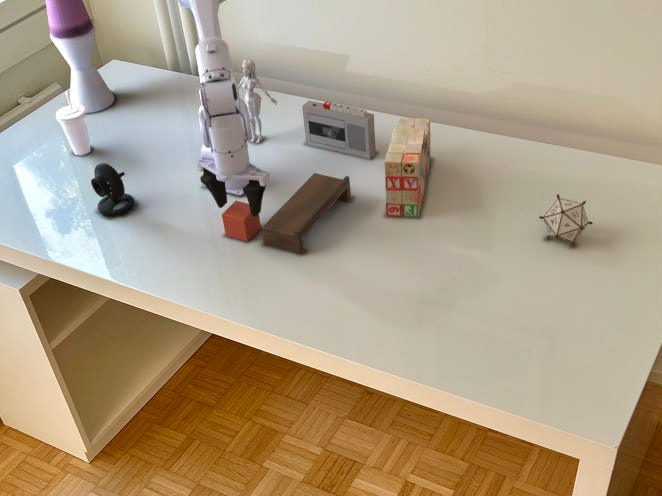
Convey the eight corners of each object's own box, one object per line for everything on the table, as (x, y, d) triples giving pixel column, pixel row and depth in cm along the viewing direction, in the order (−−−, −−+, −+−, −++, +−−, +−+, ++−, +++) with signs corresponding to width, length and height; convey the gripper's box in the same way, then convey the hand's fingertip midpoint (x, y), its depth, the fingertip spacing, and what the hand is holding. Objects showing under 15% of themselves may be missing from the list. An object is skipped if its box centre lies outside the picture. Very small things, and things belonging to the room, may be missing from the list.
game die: (561, 261, 160) (553, 244, 151) (535, 226, 163) (526, 207, 154) (604, 232, 158) (598, 213, 149) (577, 197, 161) (570, 176, 152)
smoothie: (102, 147, 197) (85, 89, 187) (83, 161, 193) (64, 102, 183) (82, 141, 200) (64, 83, 190) (62, 154, 196) (43, 96, 186)
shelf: (264, 244, 165) (260, 222, 162) (316, 189, 177) (313, 168, 174) (300, 254, 162) (298, 232, 158) (351, 198, 174) (349, 176, 170)
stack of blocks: (400, 157, 183) (399, 103, 175) (430, 158, 182) (431, 104, 173) (386, 216, 168) (384, 160, 160) (418, 218, 167) (418, 161, 158)
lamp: (63, 113, 210) (9, -62, 182) (79, 91, 218) (29, -80, 190) (105, 113, 208) (57, -64, 181) (120, 92, 216) (76, -81, 188)
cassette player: (306, 144, 190) (301, 101, 183) (312, 138, 192) (308, 95, 185) (369, 158, 184) (367, 115, 177) (375, 152, 185) (373, 109, 178)
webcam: (90, 209, 179) (77, 166, 172) (119, 192, 182) (107, 150, 175) (113, 222, 175) (101, 179, 168) (142, 205, 178) (131, 162, 171)
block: (225, 235, 168) (221, 214, 165) (239, 221, 171) (235, 200, 168) (247, 241, 166) (243, 220, 163) (261, 227, 169) (257, 205, 166)
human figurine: (231, 137, 195) (218, 60, 183) (240, 129, 197) (228, 52, 185) (276, 148, 190) (266, 69, 178) (285, 140, 192) (276, 61, 180)
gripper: (182, 148, 156) (196, 212, 165) (250, 164, 150) (260, 229, 160) (204, 129, 160) (216, 193, 170) (271, 144, 155) (280, 209, 164)
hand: (239, 209), depth 165 cm, fingers open, 7 cm apart
